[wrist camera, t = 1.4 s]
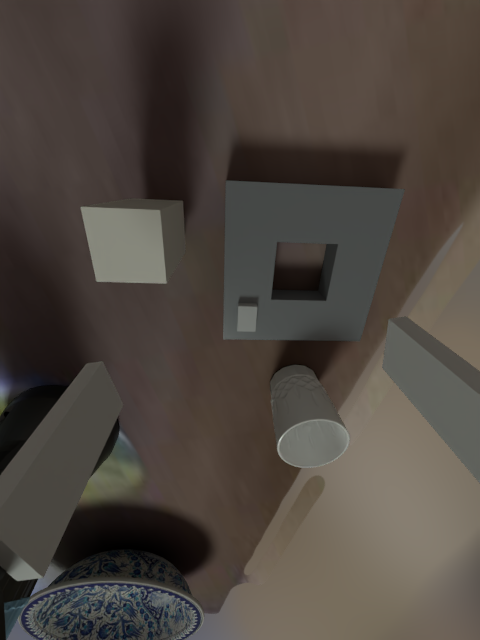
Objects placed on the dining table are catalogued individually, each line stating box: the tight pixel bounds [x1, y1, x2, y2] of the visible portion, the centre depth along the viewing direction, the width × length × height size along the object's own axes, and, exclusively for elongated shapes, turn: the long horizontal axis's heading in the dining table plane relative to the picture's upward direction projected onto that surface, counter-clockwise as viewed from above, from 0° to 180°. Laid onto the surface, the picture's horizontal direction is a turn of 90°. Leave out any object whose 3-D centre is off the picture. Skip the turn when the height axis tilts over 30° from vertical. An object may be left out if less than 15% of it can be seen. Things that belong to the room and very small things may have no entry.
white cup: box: [270, 365, 350, 468], centre depth 33 cm, size 8×8×10 cm
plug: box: [81, 198, 186, 283], centre depth 22 cm, size 4×4×12 cm
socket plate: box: [223, 180, 405, 341], centre depth 28 cm, size 16×16×4 cm
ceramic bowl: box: [18, 549, 204, 640], centre depth 55 cm, size 34×34×10 cm
